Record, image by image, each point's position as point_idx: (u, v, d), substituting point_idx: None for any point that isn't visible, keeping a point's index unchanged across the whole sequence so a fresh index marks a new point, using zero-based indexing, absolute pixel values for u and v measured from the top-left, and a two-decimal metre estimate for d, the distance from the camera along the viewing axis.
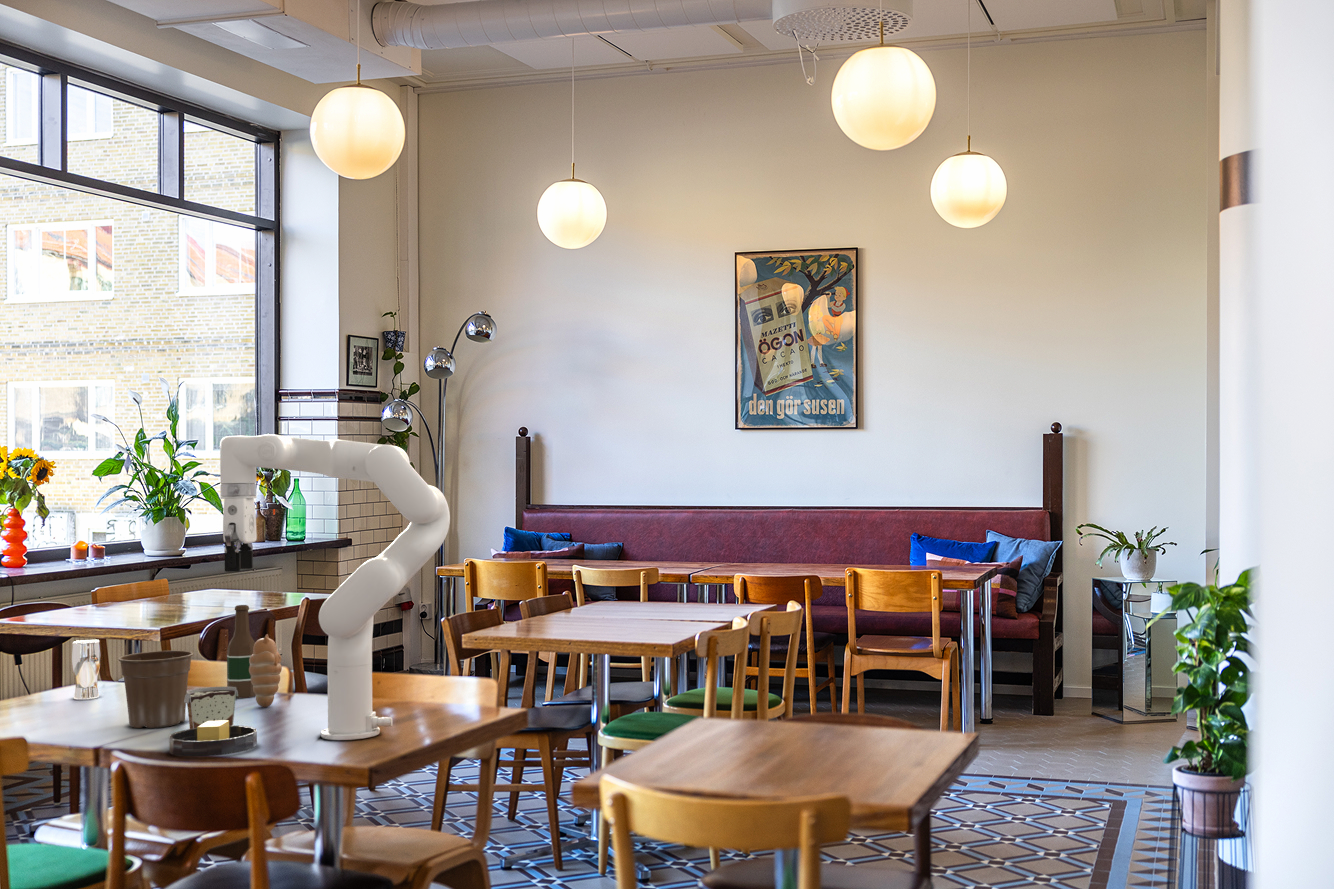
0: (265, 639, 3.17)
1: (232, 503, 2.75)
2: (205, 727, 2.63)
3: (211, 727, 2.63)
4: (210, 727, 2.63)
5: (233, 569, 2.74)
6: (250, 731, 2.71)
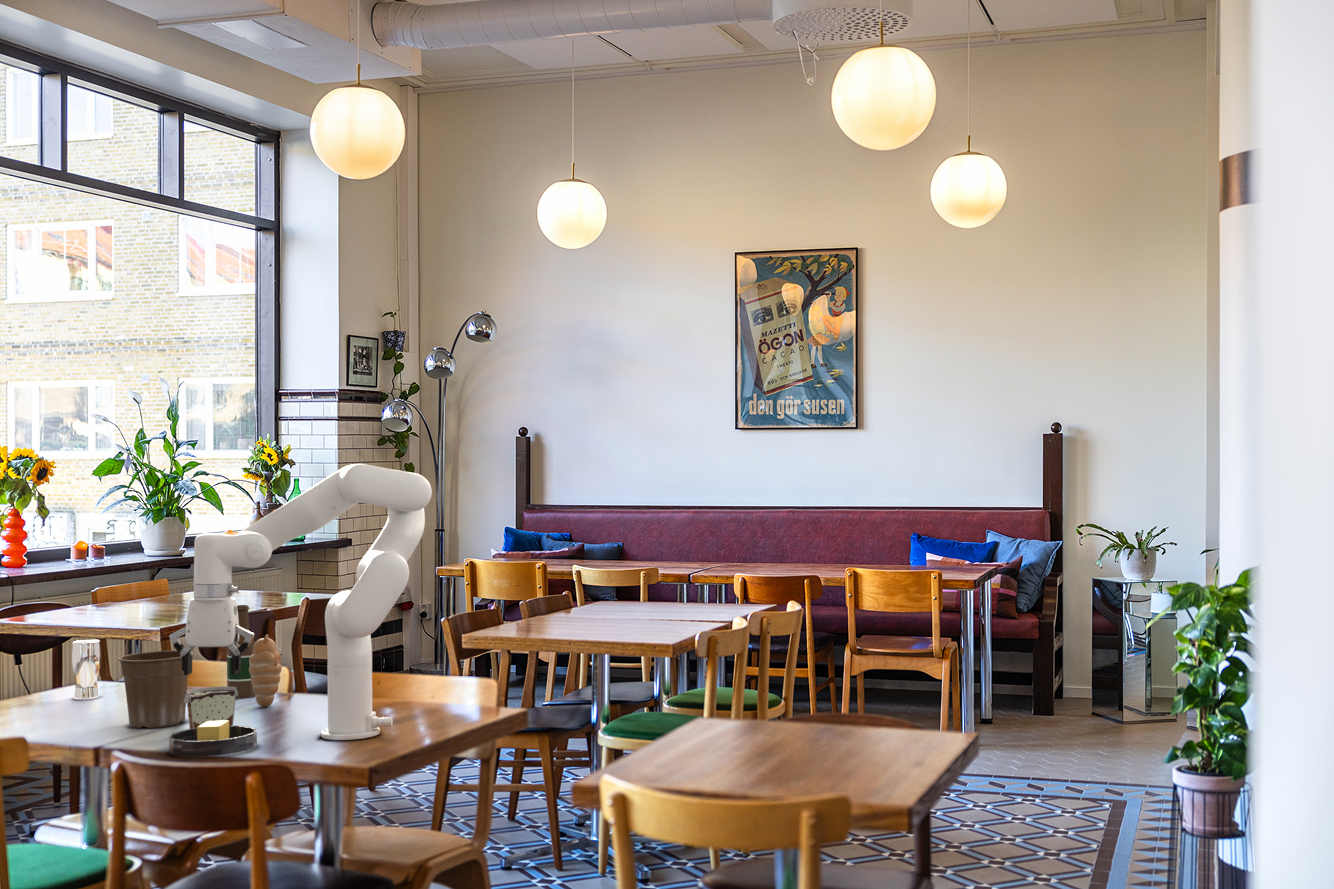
0: (265, 639, 3.17)
1: (234, 604, 2.67)
2: (205, 727, 2.63)
3: (211, 727, 2.63)
4: (210, 727, 2.63)
5: (236, 671, 2.67)
6: (250, 731, 2.71)
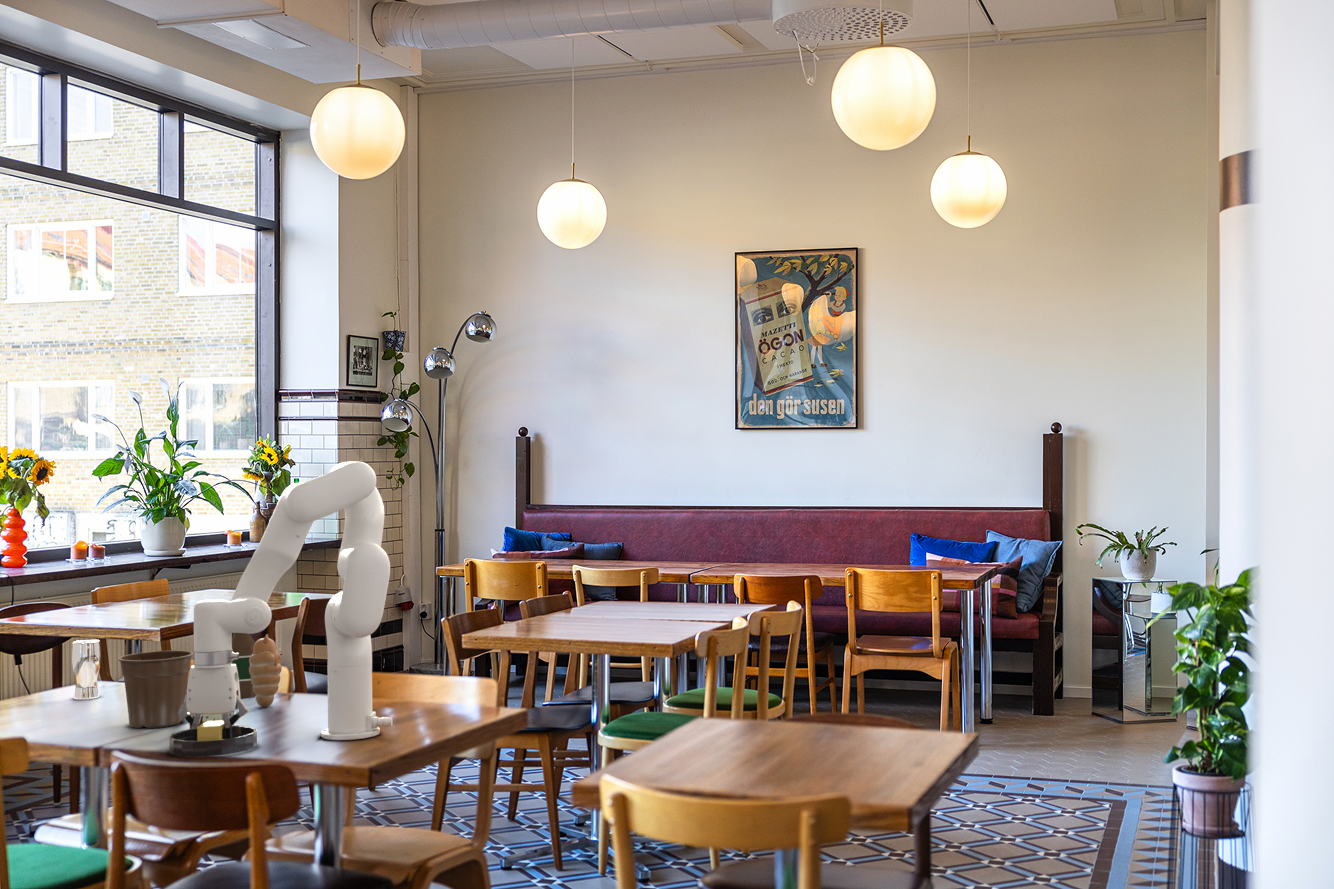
0: (265, 639, 3.17)
1: (235, 670, 2.67)
2: (205, 727, 2.63)
3: (211, 727, 2.63)
4: (210, 727, 2.63)
5: None
6: (250, 731, 2.71)
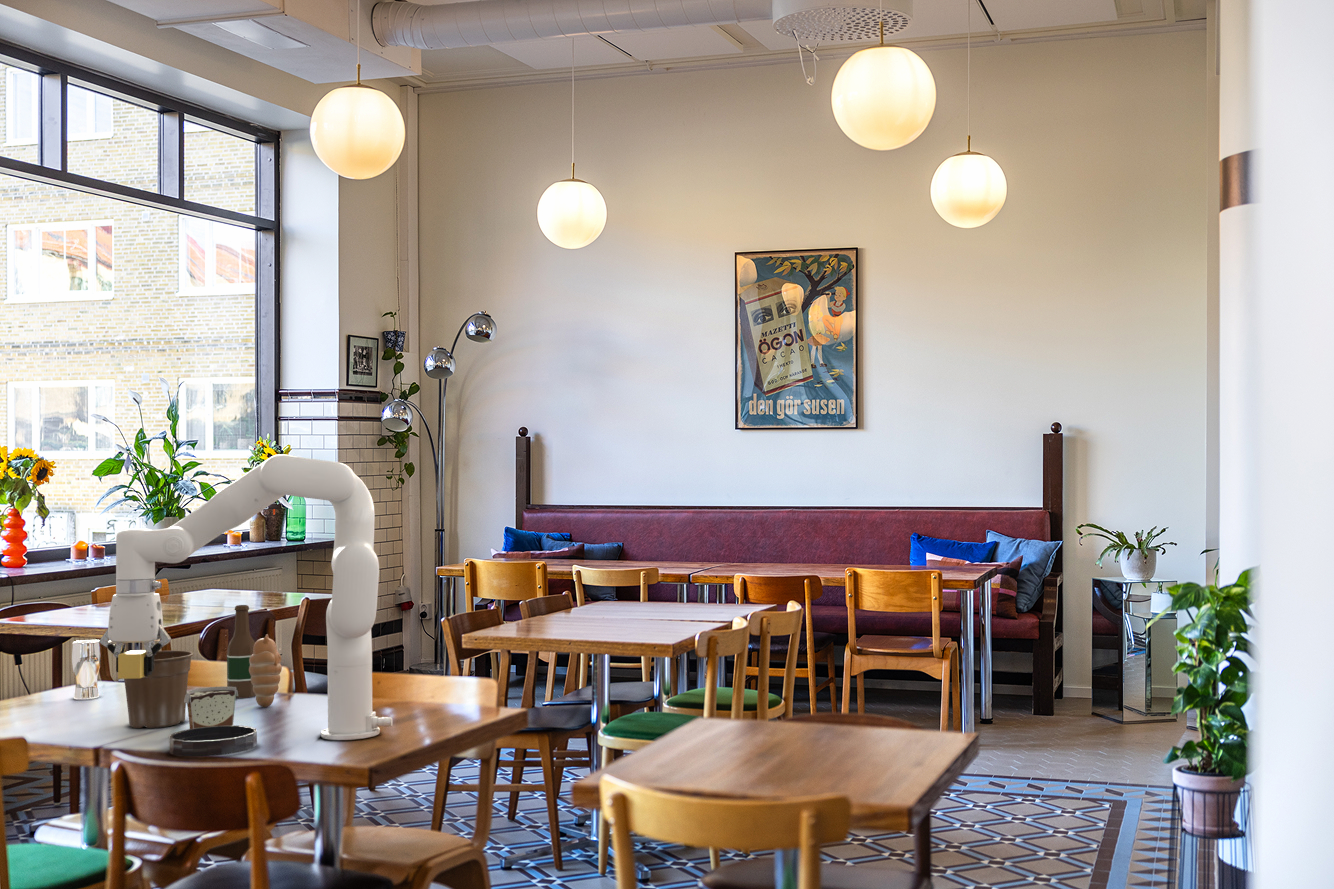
0: (265, 639, 3.17)
1: (157, 599, 2.66)
2: (126, 655, 2.62)
3: (132, 655, 2.62)
4: (131, 655, 2.62)
5: (150, 672, 2.66)
6: (250, 731, 2.71)
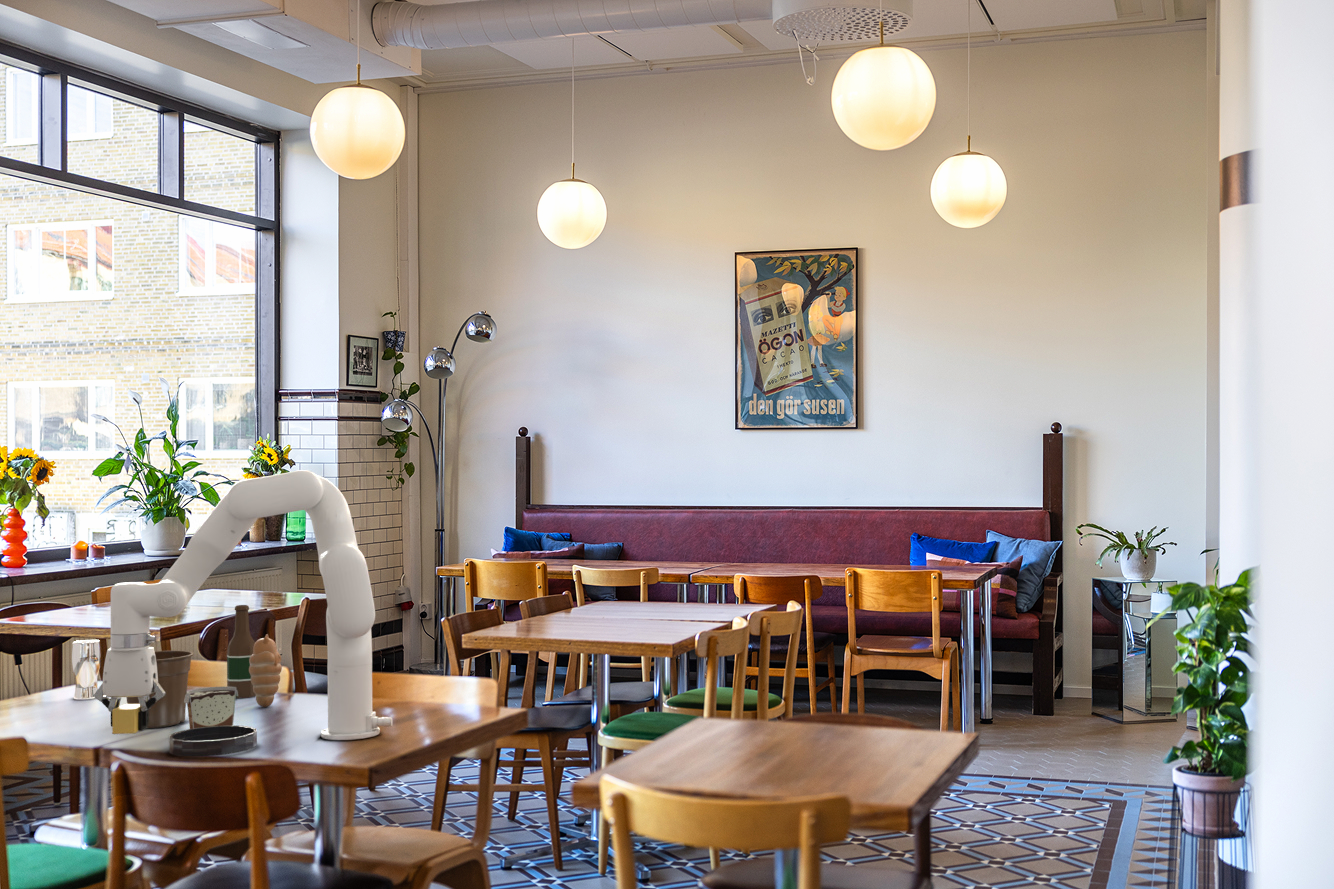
0: (265, 639, 3.17)
1: (152, 653, 2.66)
2: (120, 710, 2.62)
3: (126, 710, 2.62)
4: (125, 710, 2.62)
5: (144, 727, 2.66)
6: (250, 731, 2.71)
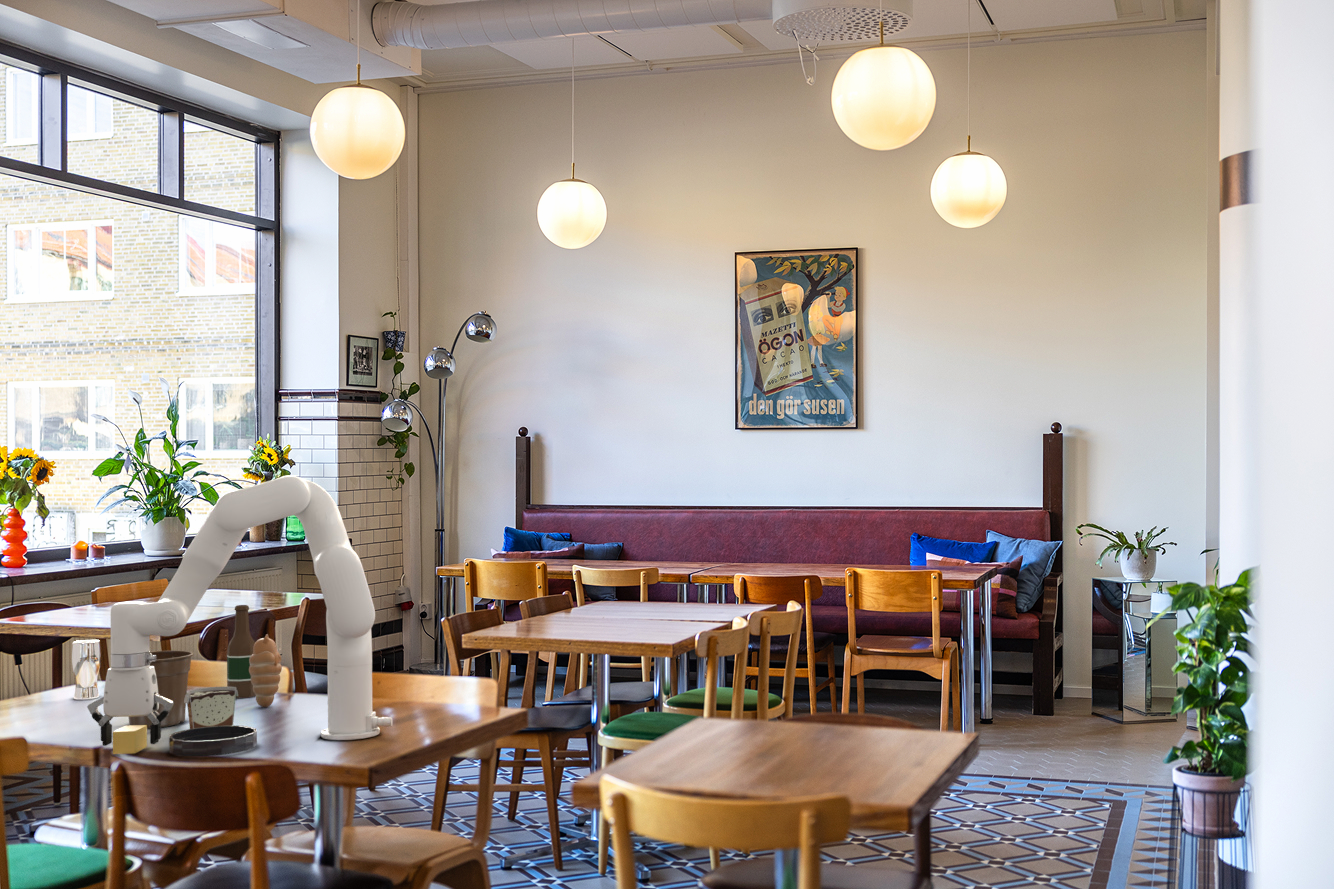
0: (265, 639, 3.17)
1: (152, 672, 2.66)
2: (121, 732, 2.62)
3: (127, 732, 2.62)
4: (126, 732, 2.62)
5: (156, 740, 2.66)
6: (250, 731, 2.71)
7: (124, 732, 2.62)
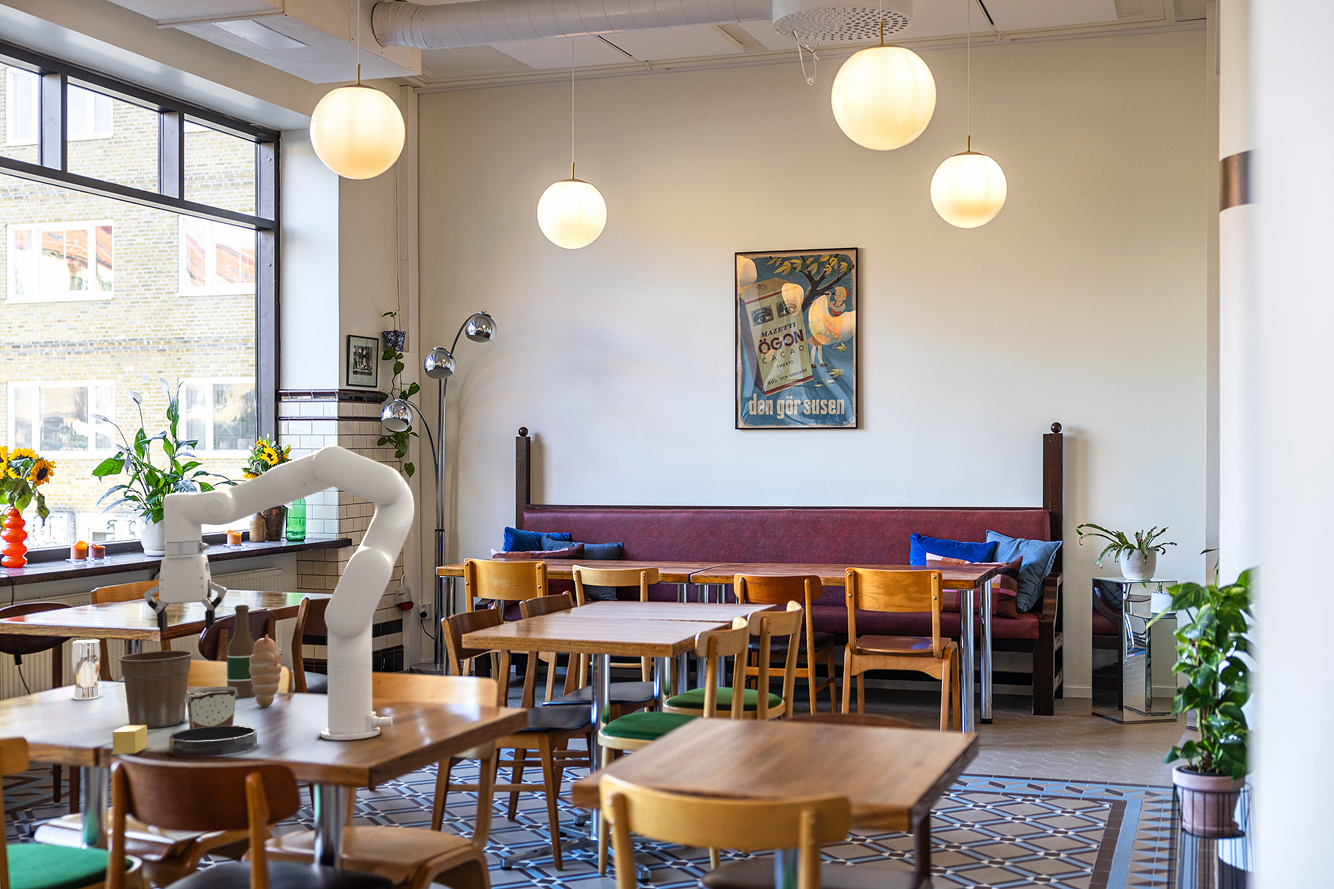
0: (265, 639, 3.17)
1: (205, 560, 2.74)
2: (121, 732, 2.62)
3: (127, 732, 2.62)
4: (126, 732, 2.62)
5: (211, 626, 2.74)
6: (250, 731, 2.71)
7: (124, 732, 2.62)
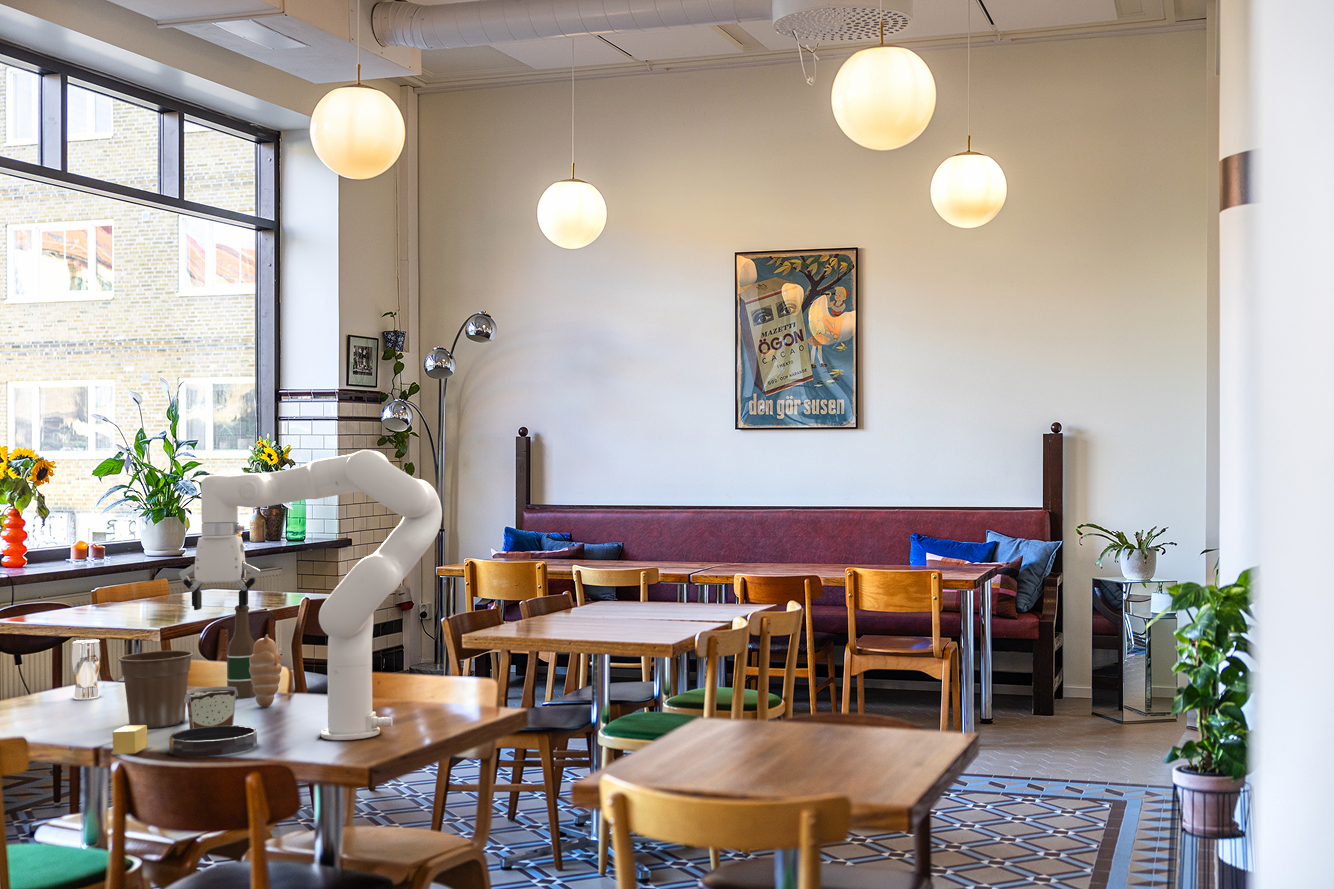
0: (265, 639, 3.17)
1: (240, 542, 2.79)
2: (121, 732, 2.62)
3: (127, 732, 2.62)
4: (126, 732, 2.62)
5: (244, 606, 2.79)
6: (250, 731, 2.71)
7: (124, 732, 2.62)
